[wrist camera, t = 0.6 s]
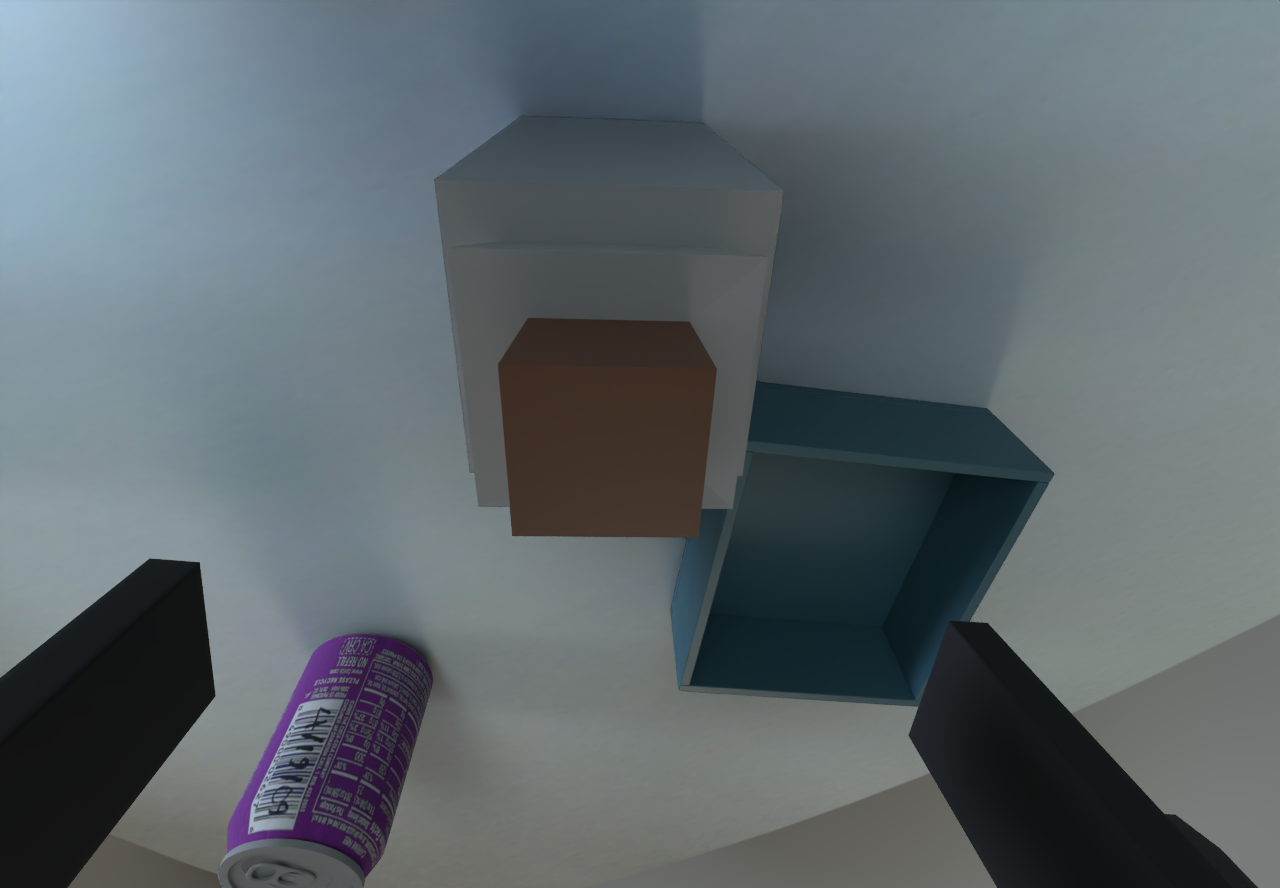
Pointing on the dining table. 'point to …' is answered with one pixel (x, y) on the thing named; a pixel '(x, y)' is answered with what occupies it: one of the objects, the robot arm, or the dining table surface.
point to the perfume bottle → (607, 320)
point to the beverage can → (331, 769)
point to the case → (849, 546)
